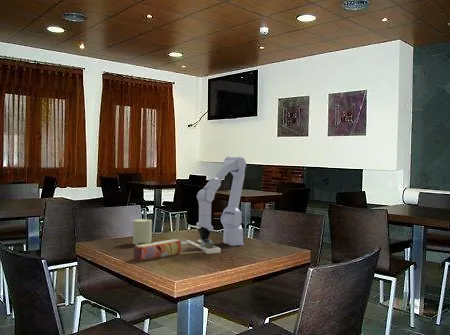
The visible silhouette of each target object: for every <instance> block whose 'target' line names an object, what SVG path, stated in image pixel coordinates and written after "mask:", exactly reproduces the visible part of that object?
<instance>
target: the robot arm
mask: <svg viewBox="0 0 450 335" xmlns="http://www.w3.org/2000/svg"><path fill="white" fill-rule="evenodd" d="M246 167H247V162H246V160H245V158H244V157H243V156H226V157H225V158H224V160H223V161H222V166H221V167H220V168H219V170H218V172H217V173H216V175H215V176H214V177H211V178H209V180H208V182H207V183H206V185H205V186H204V187H203V188H202V189H200V190H199V191H198V192H197V194H196V199H197V202H198V222H196V225H195V226H196V227H199V228H197V231H198V233H199V236H200V240H201V239H206V238H208V239H209V236H210V235H211V233H212V231H214V226H213V225H212V202H213V201H214V200H215V196H216V192H217V191H218V190H219V188H220V187H221V185H222V183H221V182H222V181H223V179H224V178H225V177H226V176H227V175H228V174H229V173H231V175H232V176H233V177H232V183H231V187H230V194H229V199H228V203H227V206H226V207H225V208H224V209H223V212H222V214H221V216H220V223H221V224H222V227H223V238H222V240H223V244H227V245H229V246H244V229H243V227H242V226H241V225H242V221H243V220H242V219H243V218H242V214H243V212H242V211H241V210H240V209H239V206H240V202H241V197H242V193H243V192H242V190H243V186H244V180H245V172H246Z"/></svg>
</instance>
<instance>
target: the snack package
mask: <svg viewBox="0 0 450 335" xmlns="http://www.w3.org/2000/svg"><path fill="white" fill-rule="evenodd" d="M181 251H182V244H181V242H180V240H179V239H176V238H173V239H168V240H167V239H166V240H161V241H156V242H155V241H154V242H149V243H142V244H140V245H135V246H134V247H133V258H134V259H133V260H136V261H139V262H142V261H147V260H153V259H158V258H159V259H160V258H165V257H166V258H167V257H171V256H177V255H180V254H181Z"/></svg>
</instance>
